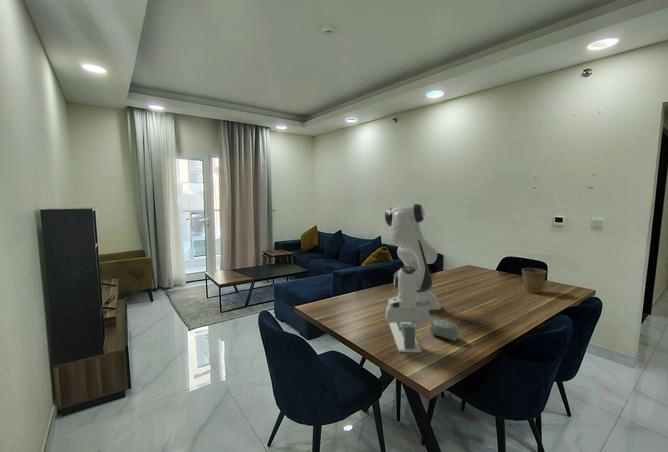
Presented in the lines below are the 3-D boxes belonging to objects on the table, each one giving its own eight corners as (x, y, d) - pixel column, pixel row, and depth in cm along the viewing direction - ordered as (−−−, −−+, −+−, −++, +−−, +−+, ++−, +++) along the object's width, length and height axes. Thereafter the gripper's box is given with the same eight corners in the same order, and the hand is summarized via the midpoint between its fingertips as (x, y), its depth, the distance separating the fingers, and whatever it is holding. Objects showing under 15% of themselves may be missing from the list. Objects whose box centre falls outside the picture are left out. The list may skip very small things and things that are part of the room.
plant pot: (544, 291, 228) (546, 269, 226) (545, 296, 215) (546, 273, 213) (520, 287, 235) (522, 266, 234) (520, 293, 223) (521, 271, 221)
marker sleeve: (411, 332, 151) (411, 322, 151) (413, 337, 146) (413, 326, 146) (400, 332, 151) (400, 322, 151) (402, 337, 146) (402, 326, 146)
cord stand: (407, 324, 171) (407, 307, 170) (421, 352, 141) (421, 331, 140) (389, 324, 171) (389, 307, 170) (399, 352, 142) (399, 331, 141)
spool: (424, 329, 157) (433, 312, 157) (432, 332, 164) (441, 315, 164) (447, 345, 147) (457, 327, 147) (455, 348, 153) (465, 330, 154)
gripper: (427, 299, 150) (427, 327, 151) (384, 299, 150) (384, 327, 152) (431, 304, 144) (430, 333, 145) (386, 304, 144) (386, 333, 146)
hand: (406, 330), depth 149 cm, fingers closed on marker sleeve, 5 cm apart
